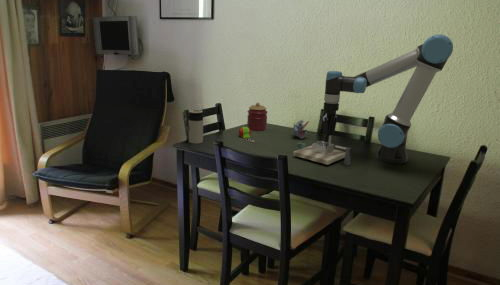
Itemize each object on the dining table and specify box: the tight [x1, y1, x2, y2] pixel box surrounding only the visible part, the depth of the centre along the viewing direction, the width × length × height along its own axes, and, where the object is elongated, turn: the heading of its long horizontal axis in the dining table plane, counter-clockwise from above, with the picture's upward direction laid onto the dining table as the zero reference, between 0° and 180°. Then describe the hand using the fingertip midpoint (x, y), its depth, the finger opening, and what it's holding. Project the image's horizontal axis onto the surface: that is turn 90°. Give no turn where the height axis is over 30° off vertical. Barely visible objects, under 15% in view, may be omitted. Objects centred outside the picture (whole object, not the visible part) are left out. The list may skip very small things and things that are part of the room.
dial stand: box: [334, 145, 352, 167], centre depth 191 cm, size 8×2×8 cm, turn 48°
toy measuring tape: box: [238, 126, 256, 143], centre depth 231 cm, size 6×19×7 cm, turn 21°
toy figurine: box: [290, 119, 310, 140], centre depth 237 cm, size 11×11×12 cm
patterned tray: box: [292, 141, 345, 165], centre depth 200 cm, size 24×20×4 cm
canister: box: [246, 102, 268, 132], centre depth 254 cm, size 13×13×18 cm
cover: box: [311, 140, 335, 155], centre depth 199 cm, size 8×8×5 cm
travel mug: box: [188, 109, 204, 144], centre depth 218 cm, size 8×8×18 cm
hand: (327, 147), depth 203 cm, fingers closed
